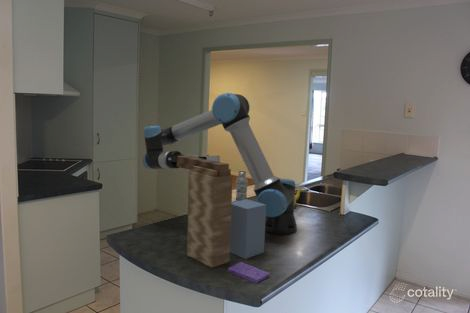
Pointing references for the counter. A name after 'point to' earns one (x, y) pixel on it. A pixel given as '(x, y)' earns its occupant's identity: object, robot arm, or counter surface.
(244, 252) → the blue step
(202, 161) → the walnut bar
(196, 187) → the oak post
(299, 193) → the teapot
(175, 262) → the counter surface
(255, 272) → the sponges
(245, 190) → the plastic bottle
